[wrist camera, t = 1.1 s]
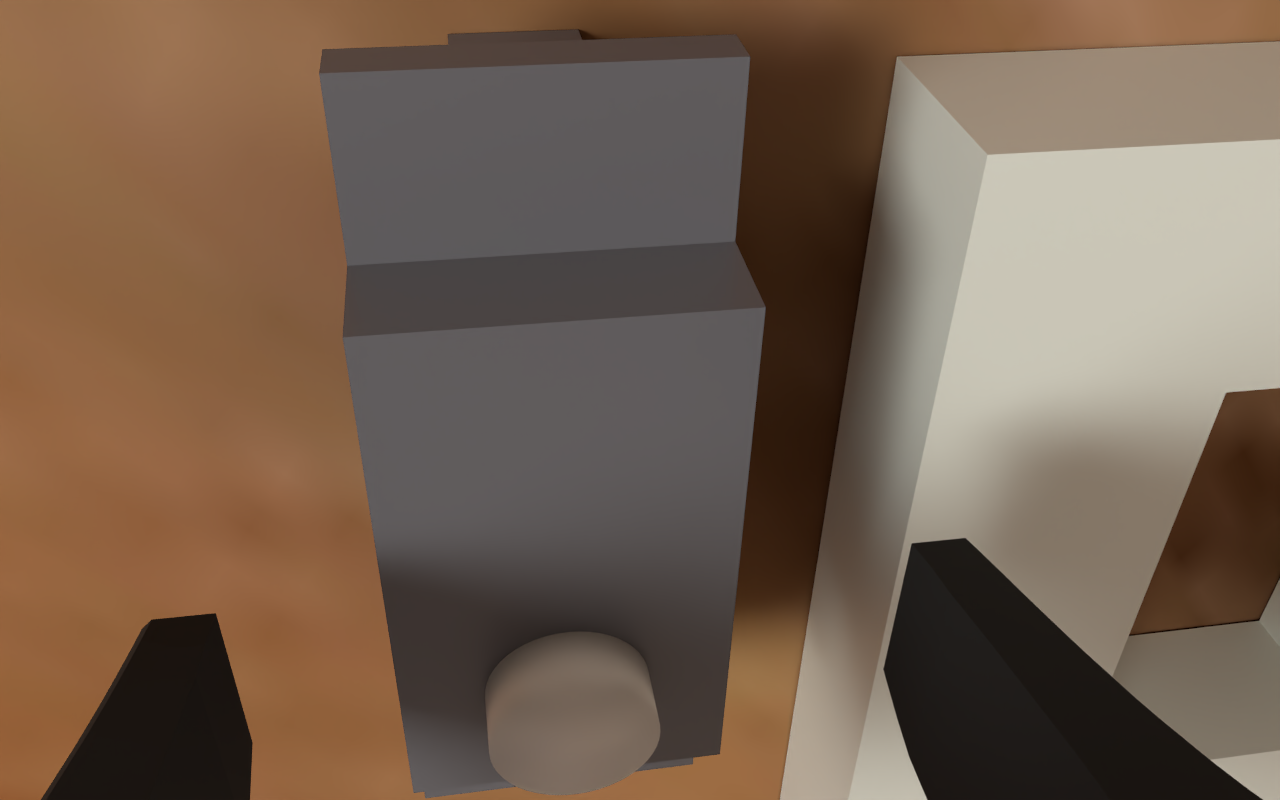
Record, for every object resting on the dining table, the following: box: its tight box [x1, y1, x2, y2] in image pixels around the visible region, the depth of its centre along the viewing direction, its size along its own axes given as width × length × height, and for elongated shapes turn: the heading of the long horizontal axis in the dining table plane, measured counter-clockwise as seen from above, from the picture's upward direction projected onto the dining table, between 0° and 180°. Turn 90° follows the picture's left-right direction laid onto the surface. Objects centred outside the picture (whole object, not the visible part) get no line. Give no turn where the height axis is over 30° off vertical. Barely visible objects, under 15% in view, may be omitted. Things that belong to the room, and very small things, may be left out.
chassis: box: [780, 41, 1280, 800], centre depth 21 cm, size 20×14×3 cm
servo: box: [319, 30, 766, 798], centre depth 15 cm, size 11×4×6 cm, turn 179°
